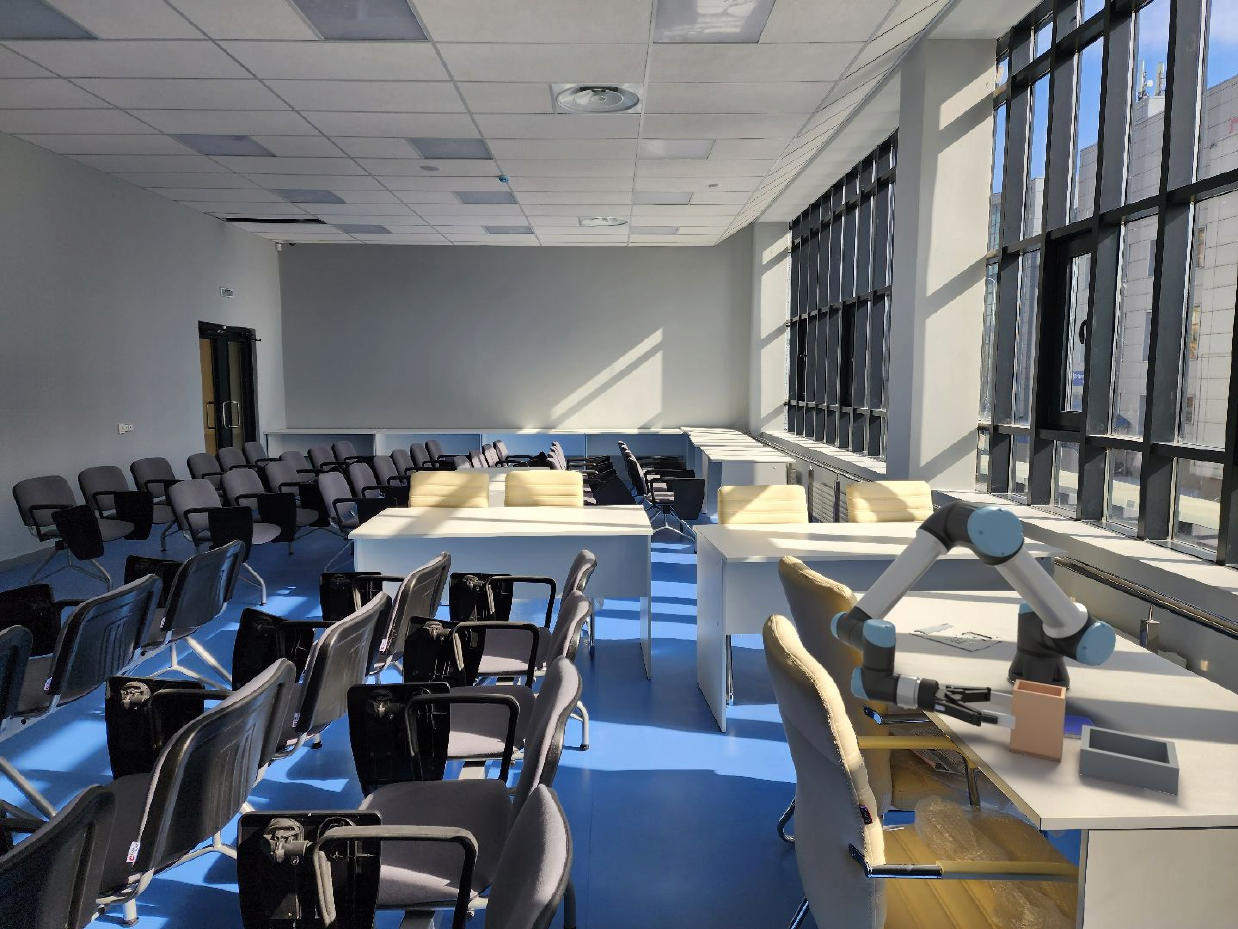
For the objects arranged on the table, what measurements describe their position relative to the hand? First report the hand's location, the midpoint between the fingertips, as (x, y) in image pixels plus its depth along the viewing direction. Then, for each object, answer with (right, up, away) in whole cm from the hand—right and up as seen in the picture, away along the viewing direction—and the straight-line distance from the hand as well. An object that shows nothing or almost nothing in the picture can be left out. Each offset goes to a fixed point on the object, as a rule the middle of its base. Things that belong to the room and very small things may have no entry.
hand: (1018, 712), depth 182 cm
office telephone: (+22, -2, +86) cm, 89 cm away
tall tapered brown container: (+3, -8, -1) cm, 9 cm away
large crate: (+17, -9, -10) cm, 22 cm away
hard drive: (+19, -8, +12) cm, 24 cm away
